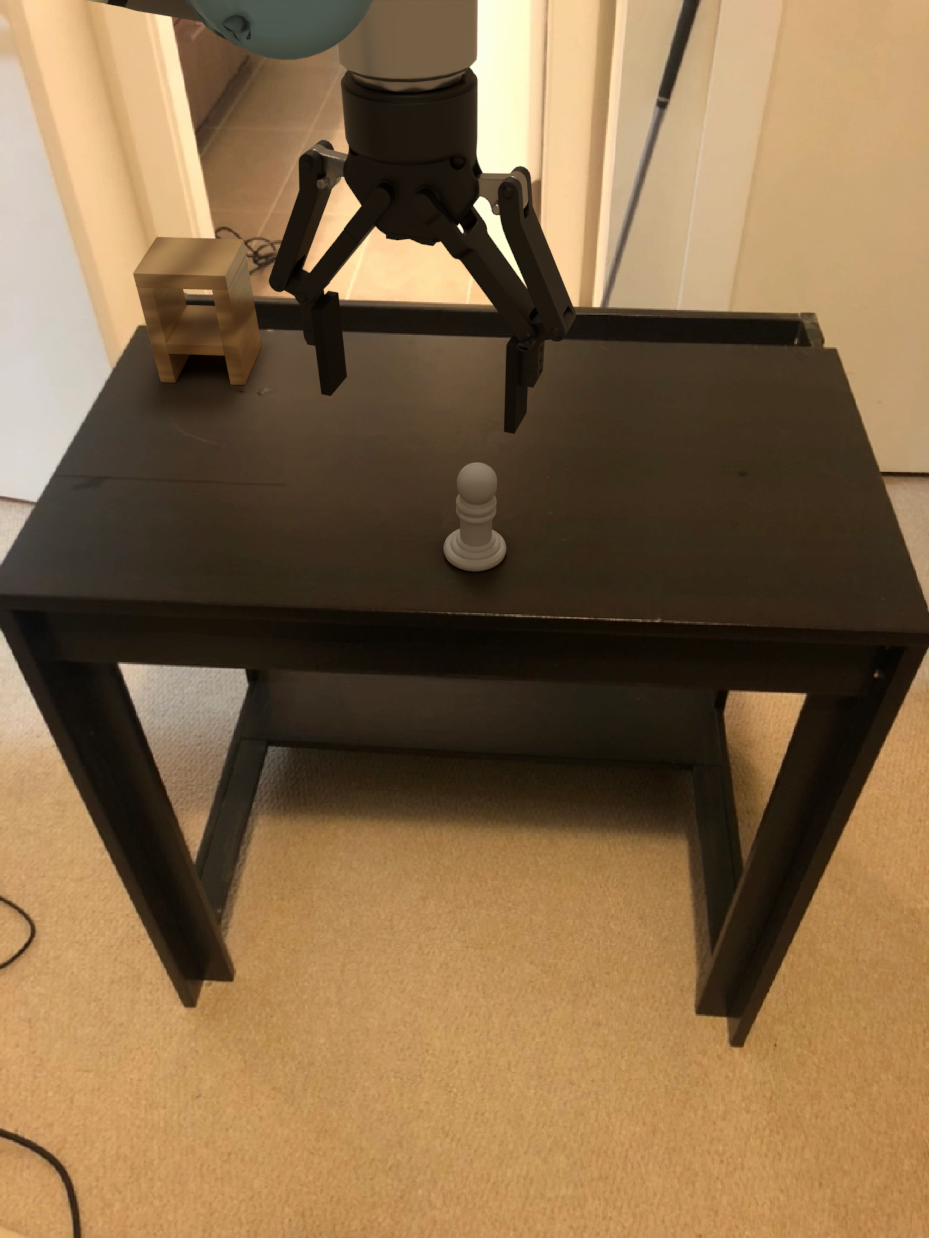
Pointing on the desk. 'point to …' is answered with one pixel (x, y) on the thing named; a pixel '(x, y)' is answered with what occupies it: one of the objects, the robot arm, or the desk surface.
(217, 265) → the shelf
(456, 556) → the chess piece
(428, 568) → the desk surface
